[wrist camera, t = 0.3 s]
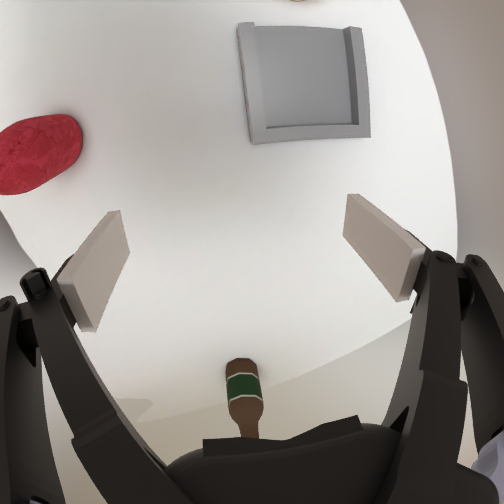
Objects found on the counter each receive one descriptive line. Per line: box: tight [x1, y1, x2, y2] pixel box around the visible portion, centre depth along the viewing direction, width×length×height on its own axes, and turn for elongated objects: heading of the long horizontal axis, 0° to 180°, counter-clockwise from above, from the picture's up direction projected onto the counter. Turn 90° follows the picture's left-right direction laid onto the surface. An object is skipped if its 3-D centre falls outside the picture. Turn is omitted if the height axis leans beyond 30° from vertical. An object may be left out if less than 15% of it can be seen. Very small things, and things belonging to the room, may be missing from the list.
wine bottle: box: [0, 114, 82, 195], centre depth 21 cm, size 10×10×30 cm
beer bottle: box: [226, 358, 264, 439], centre depth 53 cm, size 8×8×24 cm
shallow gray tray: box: [237, 22, 371, 145], centre depth 33 cm, size 18×18×4 cm
